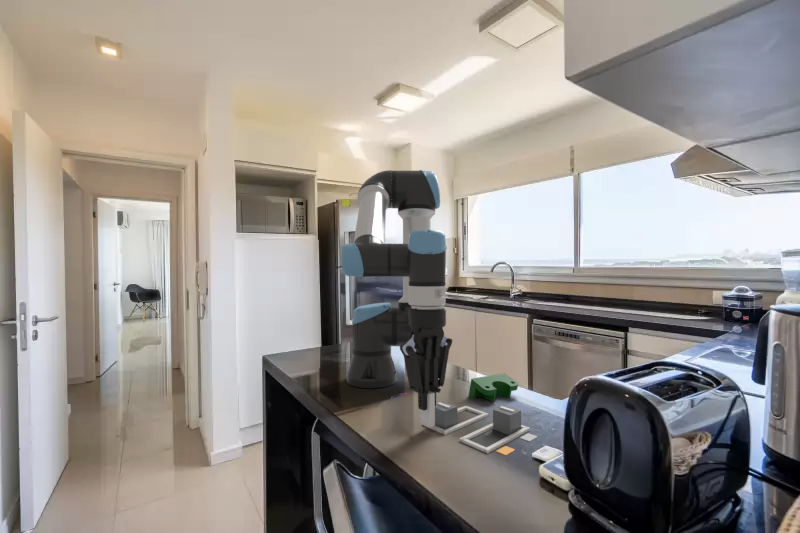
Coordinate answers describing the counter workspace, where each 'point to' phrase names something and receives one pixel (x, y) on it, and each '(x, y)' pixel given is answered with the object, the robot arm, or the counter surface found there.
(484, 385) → the green notched bracket
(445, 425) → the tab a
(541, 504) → the counter surface
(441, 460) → the counter surface
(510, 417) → the grey cube
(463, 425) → the switch board
